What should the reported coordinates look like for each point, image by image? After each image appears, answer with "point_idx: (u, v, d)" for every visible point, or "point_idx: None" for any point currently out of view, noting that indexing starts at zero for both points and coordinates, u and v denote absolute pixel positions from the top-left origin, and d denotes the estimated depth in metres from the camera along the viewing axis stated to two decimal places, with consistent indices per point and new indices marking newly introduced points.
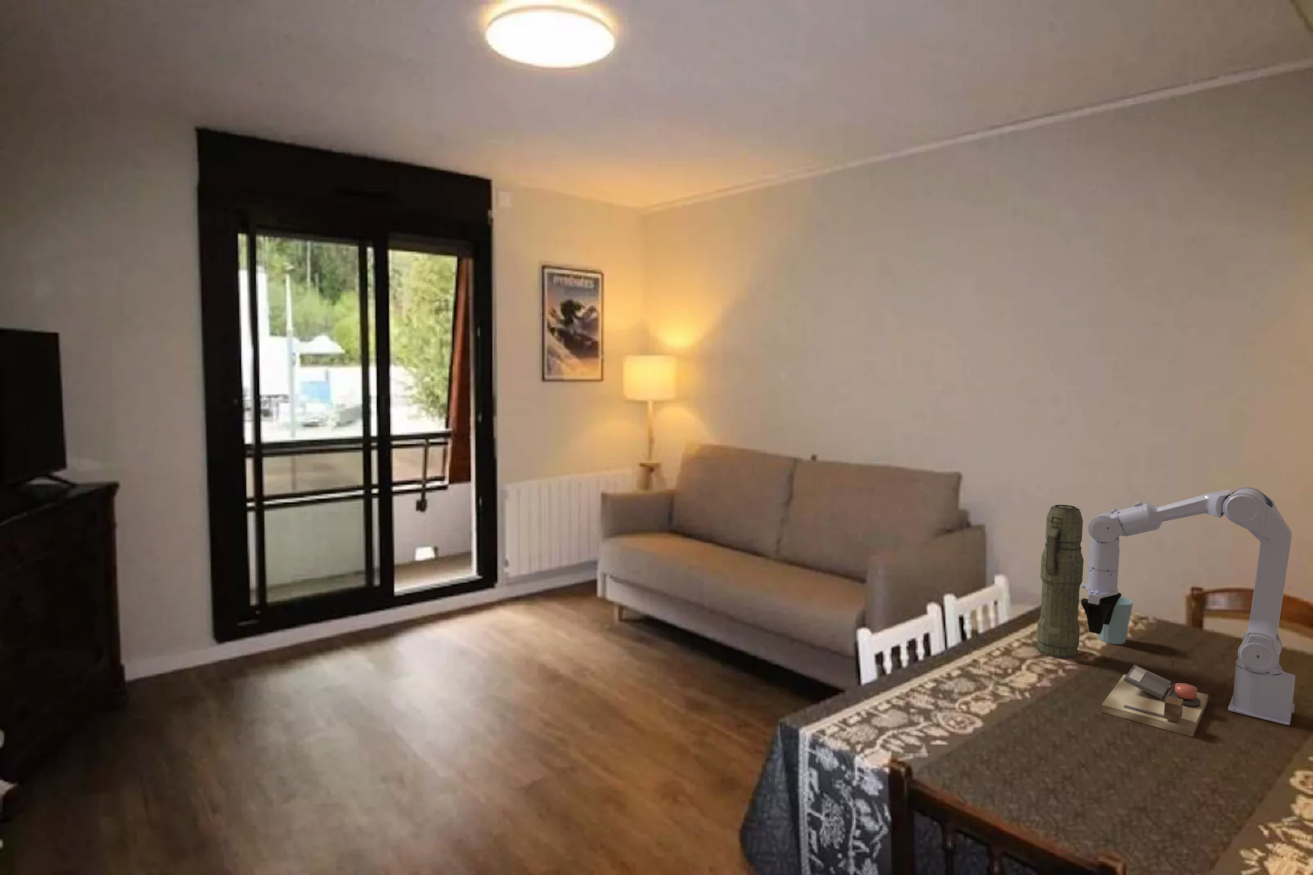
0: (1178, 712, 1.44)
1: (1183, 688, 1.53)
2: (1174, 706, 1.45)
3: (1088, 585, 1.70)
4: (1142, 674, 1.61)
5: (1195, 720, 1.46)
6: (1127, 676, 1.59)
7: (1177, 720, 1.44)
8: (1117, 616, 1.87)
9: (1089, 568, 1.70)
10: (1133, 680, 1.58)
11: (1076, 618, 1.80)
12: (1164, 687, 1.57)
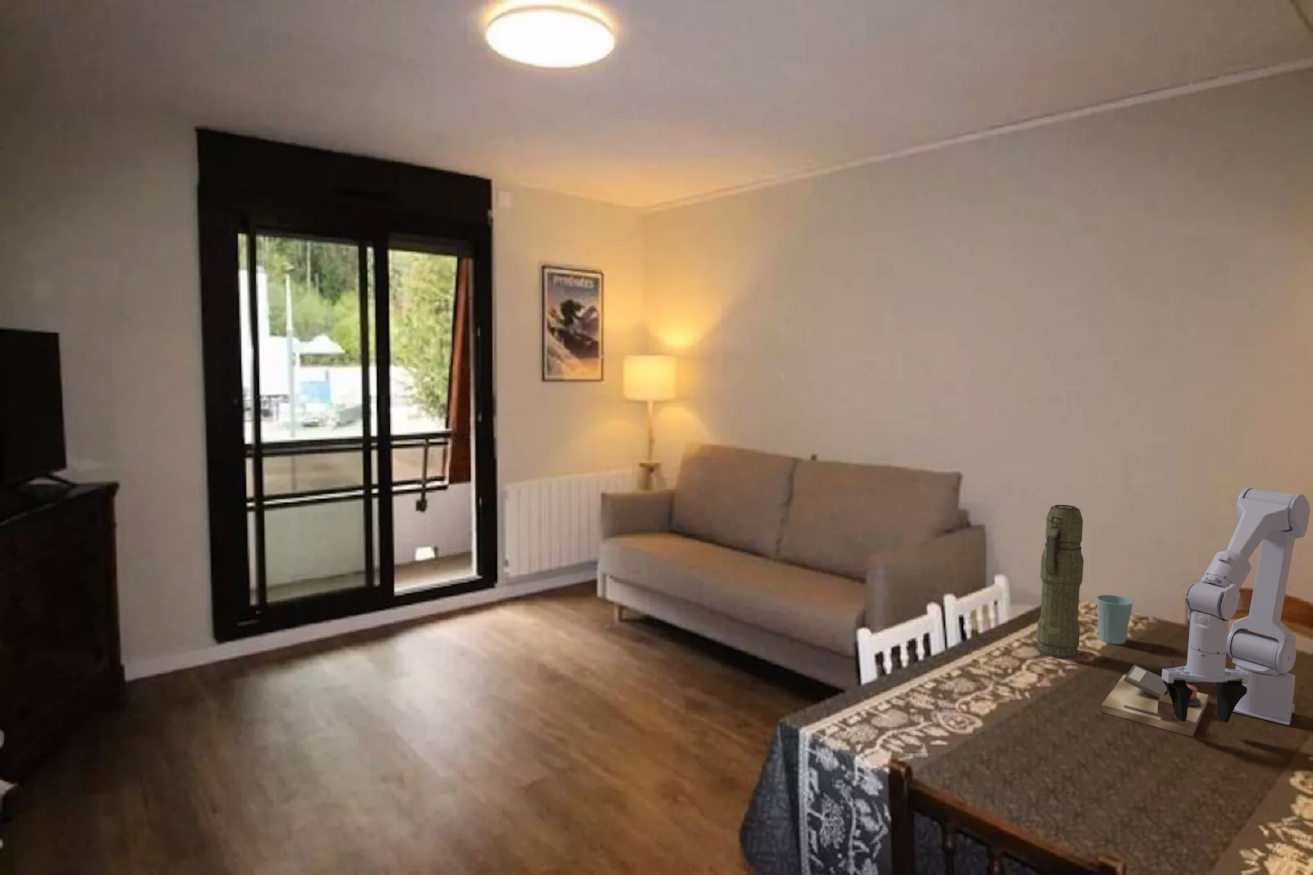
0: (1171, 710, 1.45)
1: None
2: (1167, 705, 1.45)
3: None
4: (1142, 674, 1.61)
5: (1195, 720, 1.46)
6: (1127, 676, 1.59)
7: (1170, 718, 1.45)
8: (1117, 616, 1.87)
9: None
10: (1133, 680, 1.58)
11: (1076, 618, 1.80)
12: (1164, 687, 1.57)
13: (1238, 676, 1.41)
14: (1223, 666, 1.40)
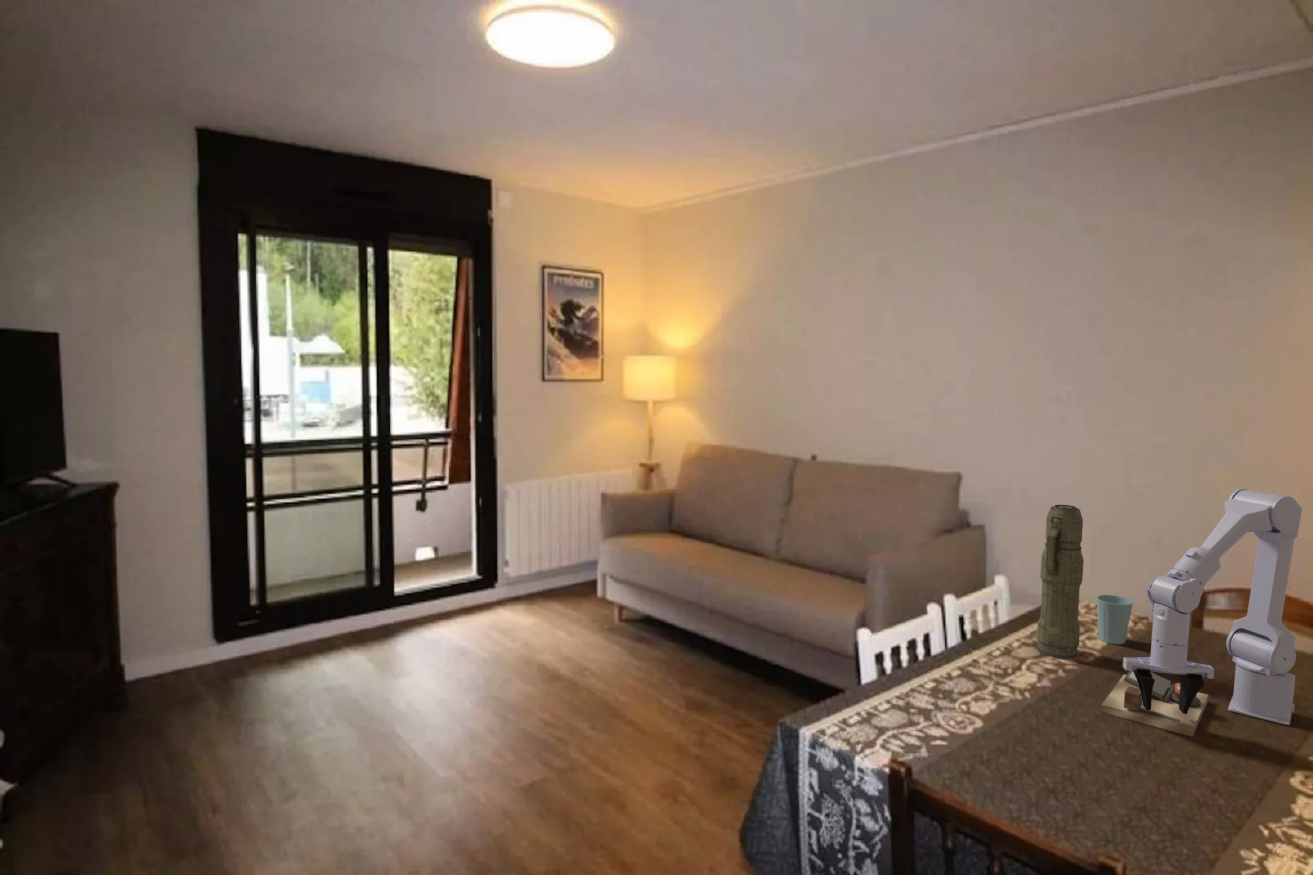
0: (1137, 701, 1.49)
1: None
2: (1133, 696, 1.49)
3: None
4: None
5: (1195, 720, 1.46)
6: (1127, 676, 1.59)
7: (1136, 709, 1.49)
8: (1117, 616, 1.87)
9: None
10: (1133, 680, 1.58)
11: (1076, 618, 1.80)
12: (1164, 687, 1.57)
13: (1201, 670, 1.43)
14: (1182, 658, 1.43)
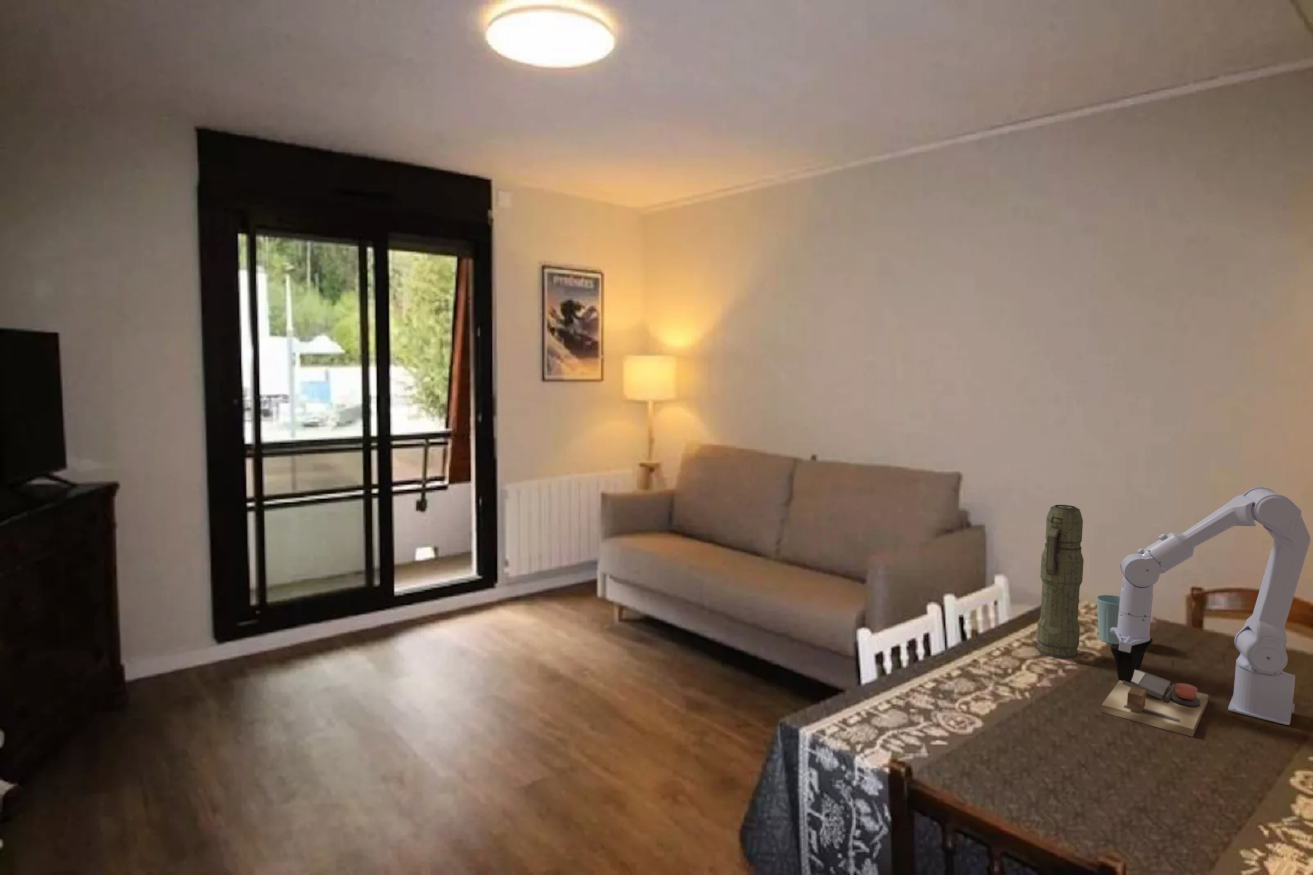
0: (1140, 702, 1.48)
1: (1183, 688, 1.53)
2: (1136, 697, 1.49)
3: (1118, 630, 1.61)
4: (1141, 676, 1.61)
5: (1195, 720, 1.46)
6: None
7: (1139, 710, 1.48)
8: (1117, 616, 1.87)
9: (1120, 612, 1.60)
10: (1132, 682, 1.58)
11: (1076, 618, 1.80)
12: (1163, 687, 1.57)
13: None
14: None
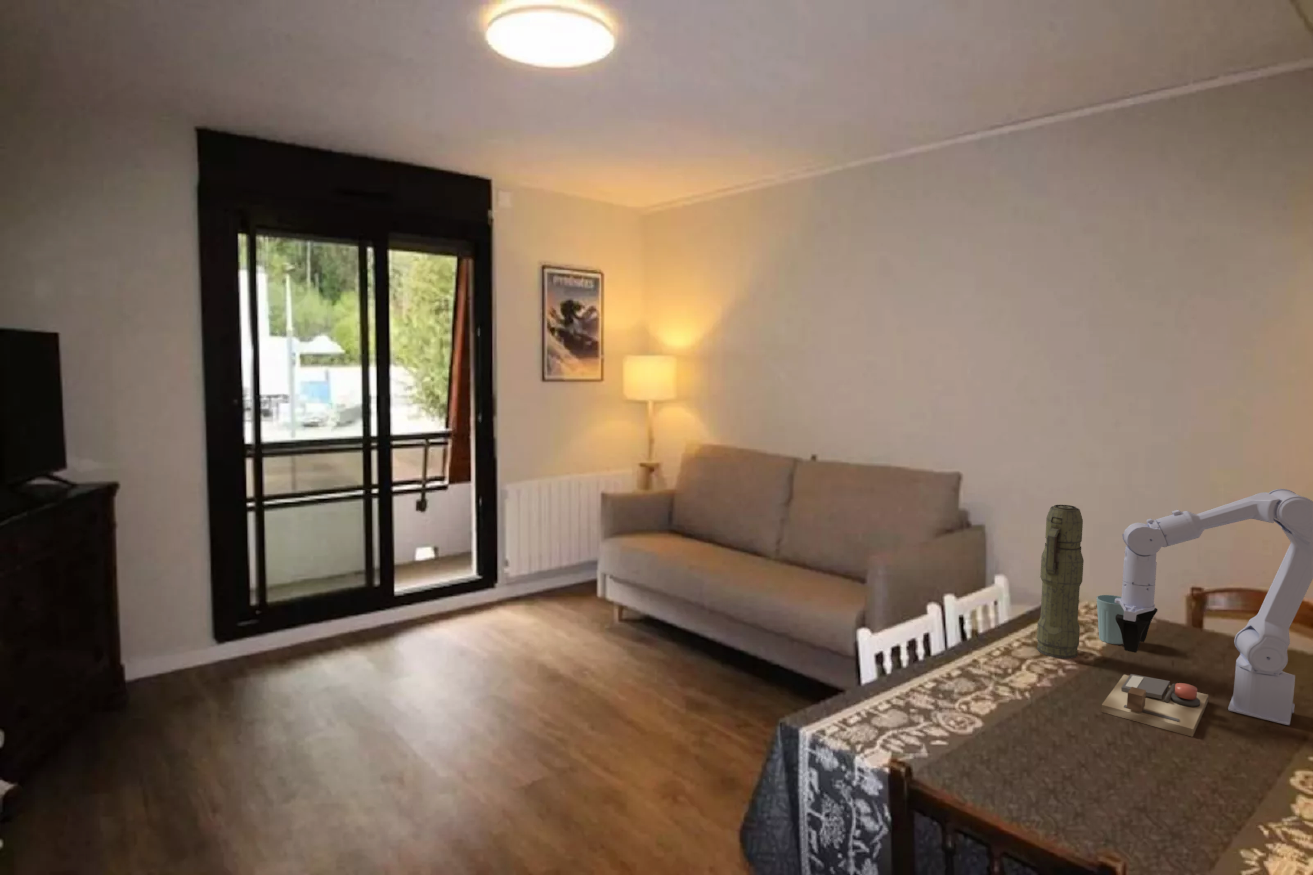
0: (1140, 702, 1.48)
1: (1183, 688, 1.53)
2: (1136, 697, 1.49)
3: (1122, 600, 1.60)
4: (1139, 680, 1.61)
5: (1195, 720, 1.46)
6: (1124, 685, 1.59)
7: (1139, 710, 1.48)
8: None
9: (1123, 582, 1.59)
10: (1130, 687, 1.58)
11: (1076, 618, 1.80)
12: (1162, 687, 1.57)
13: None
14: None
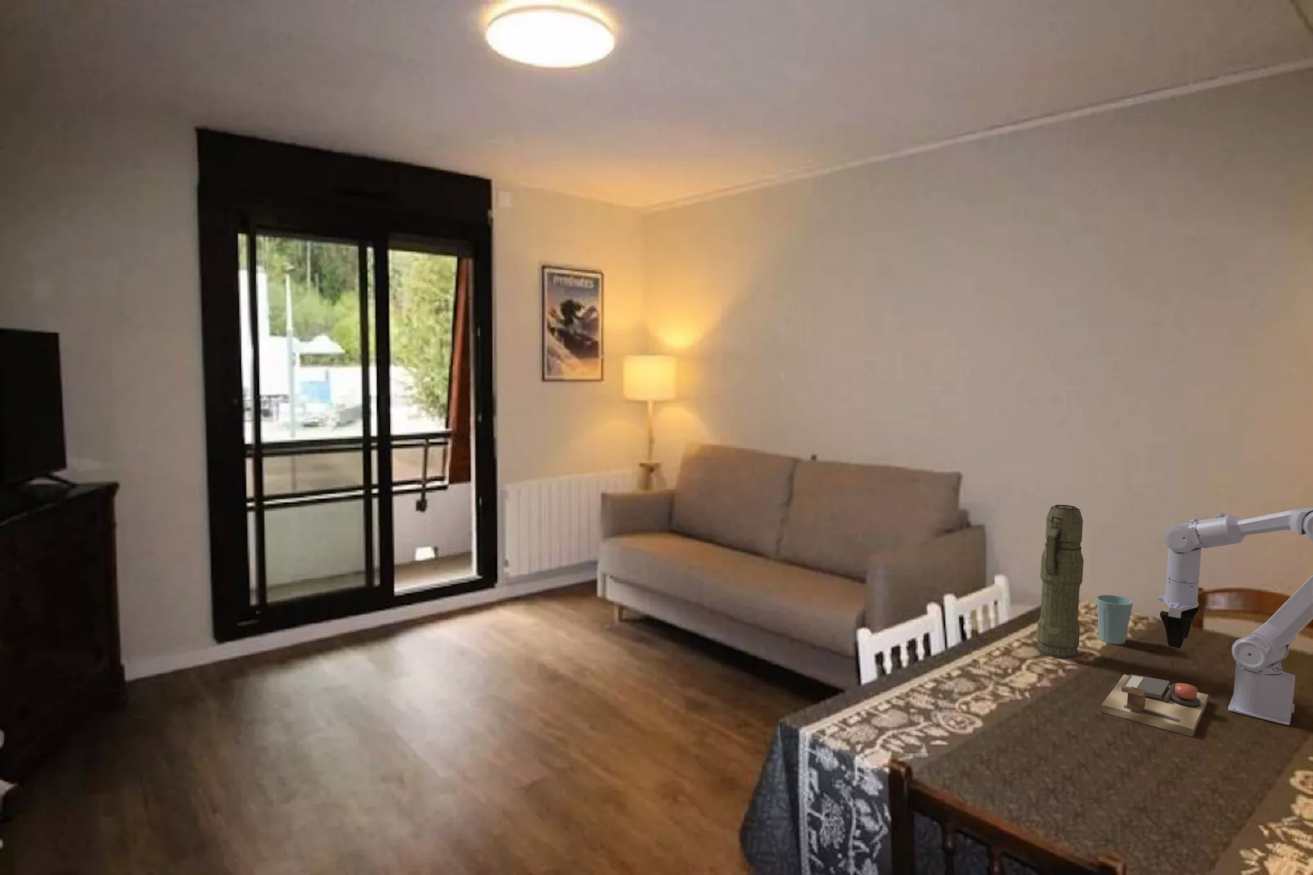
0: (1140, 702, 1.48)
1: (1183, 688, 1.53)
2: (1136, 697, 1.49)
3: (1166, 597, 1.64)
4: (1139, 681, 1.61)
5: (1195, 720, 1.46)
6: (1124, 686, 1.59)
7: (1139, 710, 1.48)
8: (1117, 616, 1.87)
9: (1167, 580, 1.64)
10: (1130, 687, 1.58)
11: (1076, 618, 1.80)
12: (1162, 687, 1.57)
13: None
14: None
